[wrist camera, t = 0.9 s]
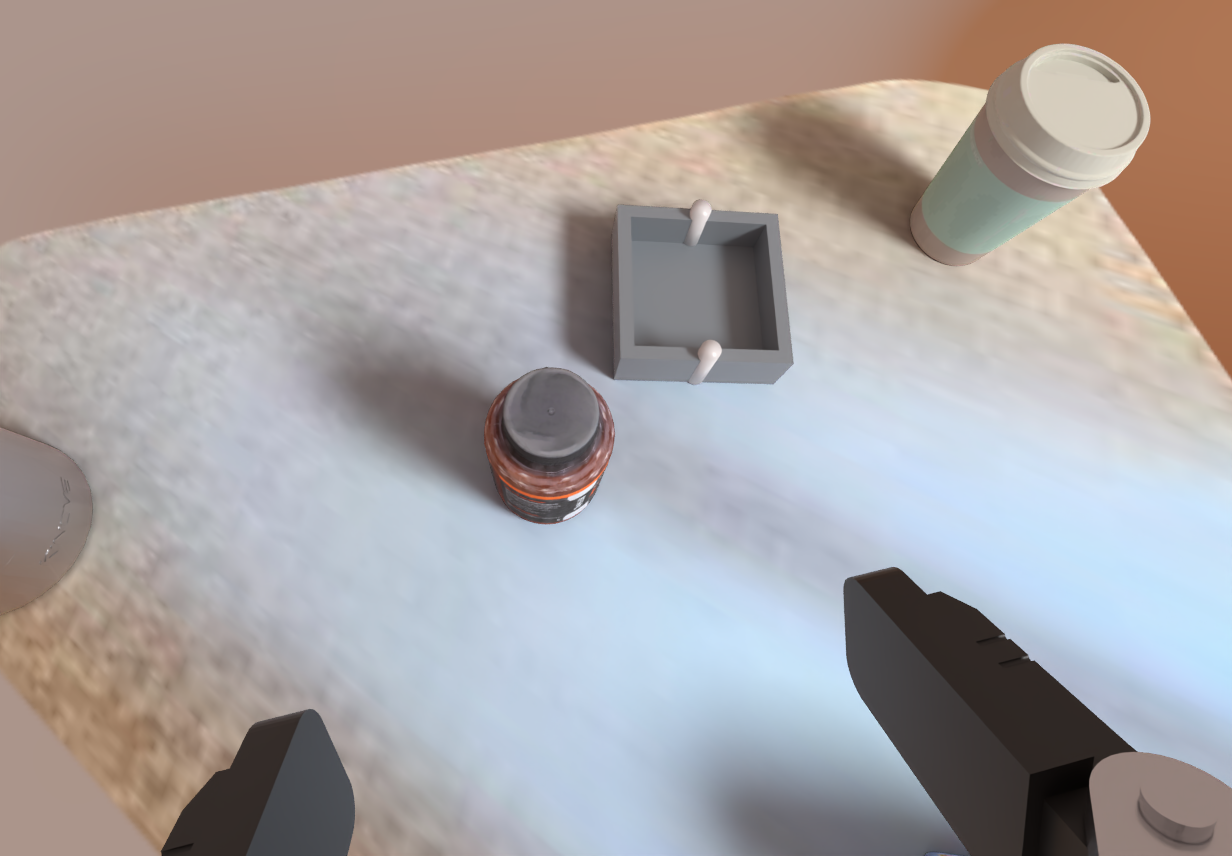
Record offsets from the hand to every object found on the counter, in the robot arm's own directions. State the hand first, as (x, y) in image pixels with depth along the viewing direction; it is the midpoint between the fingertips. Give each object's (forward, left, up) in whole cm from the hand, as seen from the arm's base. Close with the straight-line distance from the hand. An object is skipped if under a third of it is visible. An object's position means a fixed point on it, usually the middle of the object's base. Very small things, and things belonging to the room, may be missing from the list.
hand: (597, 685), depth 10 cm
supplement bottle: (0, +9, -26) cm, 28 cm away
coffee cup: (+28, +27, -26) cm, 47 cm away
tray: (+9, +20, -26) cm, 34 cm away
